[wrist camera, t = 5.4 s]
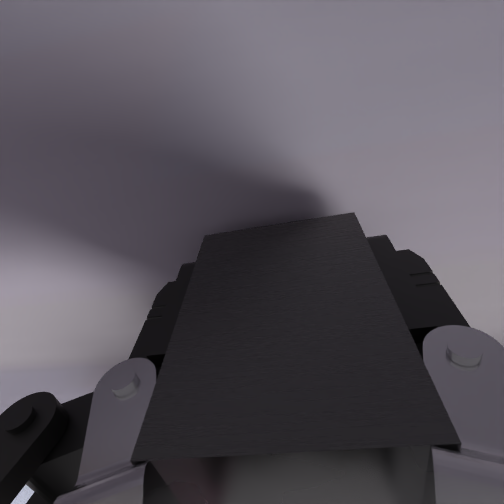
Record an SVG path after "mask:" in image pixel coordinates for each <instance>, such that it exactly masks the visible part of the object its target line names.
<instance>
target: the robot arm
mask: <svg viewBox="0 0 504 504" xmlns="http://www.w3.org/2000/svg"><path fill="white" fill-rule="evenodd" d="M366 239H367V241H368V243H369V245H370V248H371V250H372V252H373V254H374V256H375V258H376V260H377V263H378V265H379V267H380V269H381V271H382V273H383V275H384V278H385V280H386V282H387V284H388V286H389V288H390V291H391V293H392V295H393V297H394V299H395V301H396V303H397V306H398V308H399V310H400V312H401V314H402V316H403V318H404V321H405V323H406V325H407V327H408V329H409V331H410V333H411V336H412V338H413V340H414V342H415V344H416V346H417V349H418V351H419V353H420V355H421V357H422V359H423V361H424V364H425V366H426V368H427V370H428V372H429V374H430V376H431V379H432V381H433V383H434V385H435V387H436V389H437V391H438V394H439V396H440V398H441V400H442V402H443V404H444V407H445V409H446V411H447V413H448V415H449V417H450V419H451V422H452V424H453V426H454V428H455V430H456V432H457V434H458V437H459V439H460V441H461V443H462V444H461V449H460V451H458V450H452V449H448V448H443V447H439V446H434V445H430V451H429V458H428V465H427V472H426V479H425V486H424V493H423V500H422V504H504V347H503V346H502V345H501V344H500V343H499V342H498V341H497V340H495V339H494V338H493V337H491V336H490V335H488V334H486V333H484V332H482V331H480V330H477V329H474V328H471V327H470V326H469V324H468V323H467V321H466V320H465V319H464V317H463V316H462V314H461V313H460V311H459V310H458V308H457V307H456V305H455V304H454V302H453V301H452V299H451V298H450V296H449V295H448V294H447V292H446V291H445V289H444V288H443V286H442V285H440V282H439V280H438V279H437V277H436V276H435V274H433V272H432V270H431V269H430V267H429V266H428V264H427V263H426V261H425V260H424V259H423V258H422V257H420V256H418V255H417V254H415V253H414V252H412V251H410V250H409V249H408V250H401V251H396V250H395V249H394V247H393V245H392V243H391V242H390V240H389V238H388V237H387V235H381V236H374V237H367V238H366ZM195 263H196V262H193V263H186V264H183V265H182V266H181V269H180V271H179V274H178V277H177V279H176V281H174V282H168V283H167V284H166V285H165V287H164V288H163V289H162V290H161V291H160V292H159V293H158V294H157V296H156V298H155V300H154V303H153V305H152V309H151V310H150V312H149V314H148V316H147V320H146V321H145V323H144V325H143V328H142V330H141V332H140V334H139V337H138V339H137V341H136V343H135V346H134V348H133V350H132V352H131V355H130V357H129V359H128V360H125V361H123V362H121V363H119V364H117V365H115V366H114V367H112V368H111V369H110V370H109V371H107V372H106V373H105V374H104V375H103V377H102V378H101V379H100V380H99V382H98V384H97V385H96V388H95V390H94V392H92V393H89V394H86V395H84V396H81V397H78V398H76V399H73V400H71V401H68V402H65V403H63V404H60V402H59V401H58V400H57V399H56V398H55V396H54V395H53V394H51V393H49V392H38V393H34V394H31V395H28V396H26V397H24V398H22V399H20V400H19V401H17V402H16V403H14V404H13V405H11V406H10V407H9V408H8V409H6V410H5V411H4V412H3V413H2V414H1V415H0V504H11V502H12V501H13V500H14V498H15V497H16V496H17V495H18V493H19V492H20V491H21V489H22V488H23V487H24V486H25V484H26V485H27V486H29V487H30V488H31V489H32V490H33V491H34V494H33V495H32V496H31V498H30V499H29V500H28V502H27V503H26V504H180V502H179V501H178V499H177V498H176V497H175V495H174V494H173V492H172V491H171V489H170V488H169V487H168V485H167V484H166V482H165V481H164V480H163V478H162V477H161V475H160V474H159V473H158V471H157V470H156V468H155V467H154V466H153V464H152V463H151V461H150V460H149V461H146V462H143V463H141V464H138V465H135V466H133V465H132V464H131V462H130V459H131V456H132V453H133V450H134V447H135V444H136V441H137V438H138V435H139V432H140V429H141V426H142V423H143V420H144V417H145V414H146V411H147V408H148V405H149V402H150V399H151V396H152V393H153V390H154V387H155V384H156V381H157V378H158V375H159V372H160V369H161V366H162V363H163V360H164V357H165V354H166V351H167V348H168V345H169V342H170V339H171V336H172V333H173V330H174V327H175V324H176V321H177V318H178V315H179V312H180V309H181V306H182V303H183V300H184V297H185V294H186V291H187V288H188V285H189V282H190V279H191V275H192V272H193V269H194V266H195Z"/></svg>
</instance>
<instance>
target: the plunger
mask: <svg viewBox="0 0 504 504" xmlns="http://www.w3.org/2000/svg"><path fill="white" fill-rule="evenodd" d="M461 444H462V443H461V441H460V439H459V437H458V434H457V432H456V430H455V428H454V426H453V424H452V422H451V419H450V417H449V415H448V413H447V411H446V409H445V407H444V404H443V402H442V400H441V398H440V396H439V394H438V391H437V389H436V387H435V385H434V383H433V381H432V379H431V376H430V374H429V372H428V370H427V368H426V366H425V364H424V361H423V359H422V357H421V355H420V353H419V351H418V349H417V346H416V344H415V342H414V340H413V338H412V336H411V333H410V331H409V329H408V327H407V325H406V323H405V321H404V318H403V316H402V314H401V312H400V310H399V308H398V306H397V303H396V301H395V299H394V297H393V295H392V293H391V291H390V288H389V286H388V284H387V282H386V280H385V278H384V275H383V273H382V271H381V269H380V267H379V265H378V263H377V260H376V258H375V256H374V254H373V252H372V250H371V248H370V245H369V243H368V241H367V239H366V237H365V235H364V233H363V230H362V228H361V226H360V224H359V222H358V220H357V217H356V215H355V213H347V214H341V215H334V216H328V217H321V218H315V219H309V220H302V221H296V222H289V223H283V224H277V225H270V226H264V227H257V228H251V229H244V230H238V231H232V232H225V233H219V234H212V235H206V236H204V239H203V242H202V245H201V248H200V251H199V254H198V257H197V260H196V263H195V266H194V269H193V272H192V275H191V279H190V282H189V285H188V288H187V291H186V294H185V297H184V300H183V303H182V306H181V309H180V312H179V315H178V318H177V321H176V324H175V327H174V330H173V333H172V336H171V339H170V342H169V345H168V348H167V351H166V354H165V357H164V360H163V363H162V366H161V369H160V372H159V375H158V378H157V381H156V384H155V387H154V390H153V393H152V396H151V399H150V402H149V405H148V408H147V411H146V414H145V417H144V420H143V423H142V426H141V429H140V432H139V435H138V438H137V441H136V444H135V447H134V450H133V453H132V456H131V459H130V462H131V464H132V465H133V466H135V465H138V464H141V463H143V462H146V461H149V460H150V461H151V463H152V464H153V466H154V467H155V468H156V470H157V471H158V473H159V474H160V475H161V477H162V478H163V480H164V481H165V482H166V484H167V485H168V487H169V488H170V489H171V491H172V492H173V494H174V495H175V497H176V498H177V499H178V501H179V502H180V504H422V500H423V493H424V486H425V479H426V472H427V465H428V458H429V451H430V445H434V446H439V447H443V448H448V449H452V450H458V451H460V449H461Z"/></svg>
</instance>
